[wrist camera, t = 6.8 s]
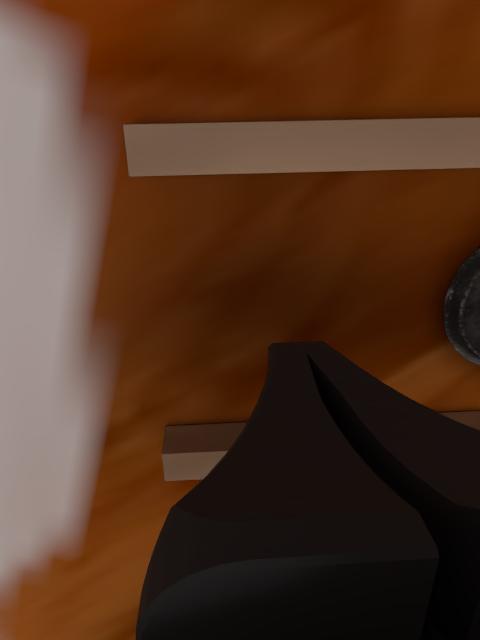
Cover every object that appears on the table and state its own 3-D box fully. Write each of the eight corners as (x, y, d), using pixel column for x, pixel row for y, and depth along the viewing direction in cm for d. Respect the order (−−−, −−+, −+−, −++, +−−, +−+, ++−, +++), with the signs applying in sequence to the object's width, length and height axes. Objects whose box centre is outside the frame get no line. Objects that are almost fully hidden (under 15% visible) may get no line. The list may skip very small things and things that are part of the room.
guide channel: (599, 429, 18) (700, 510, 14) (168, 451, 17) (156, 544, 13) (725, 111, 13) (929, 109, 9) (133, 123, 12) (98, 126, 8)
